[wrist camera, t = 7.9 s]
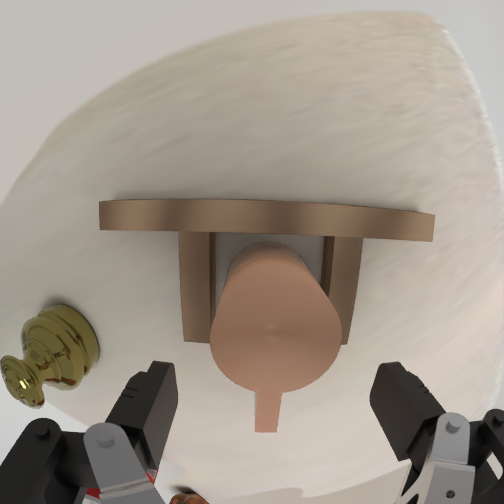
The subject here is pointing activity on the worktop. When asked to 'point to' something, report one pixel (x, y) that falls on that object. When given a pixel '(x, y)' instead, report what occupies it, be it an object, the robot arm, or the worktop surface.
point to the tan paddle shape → (273, 327)
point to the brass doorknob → (50, 355)
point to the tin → (187, 499)
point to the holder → (263, 221)
